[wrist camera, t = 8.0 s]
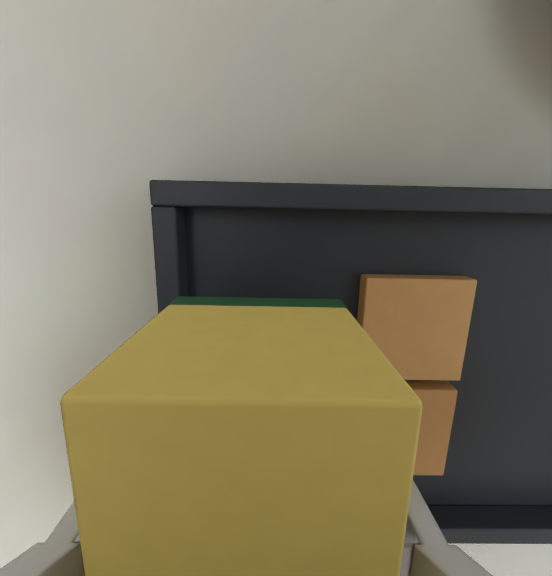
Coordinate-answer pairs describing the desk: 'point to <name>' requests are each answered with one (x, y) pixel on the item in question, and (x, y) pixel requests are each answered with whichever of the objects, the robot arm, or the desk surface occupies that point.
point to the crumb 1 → (418, 321)
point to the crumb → (434, 425)
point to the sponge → (243, 445)
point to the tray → (402, 261)
